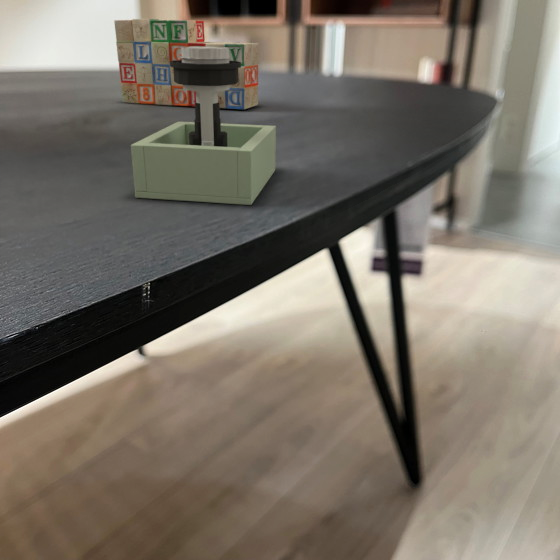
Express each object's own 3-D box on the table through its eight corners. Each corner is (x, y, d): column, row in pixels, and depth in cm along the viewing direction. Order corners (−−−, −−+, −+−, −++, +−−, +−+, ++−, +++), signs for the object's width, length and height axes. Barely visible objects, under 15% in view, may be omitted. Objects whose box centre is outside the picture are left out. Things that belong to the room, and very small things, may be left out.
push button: (180, 167, 50) (173, 44, 46) (240, 167, 51) (239, 45, 47) (174, 187, 44) (165, 48, 40) (242, 187, 45) (241, 49, 41)
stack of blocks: (259, 105, 91) (259, 21, 86) (244, 111, 85) (243, 20, 80) (141, 98, 97) (135, 18, 92) (121, 102, 92) (113, 18, 86)
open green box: (135, 197, 43) (130, 144, 42) (180, 165, 53) (177, 121, 52) (251, 205, 42) (251, 150, 40) (275, 170, 52) (276, 125, 50)
